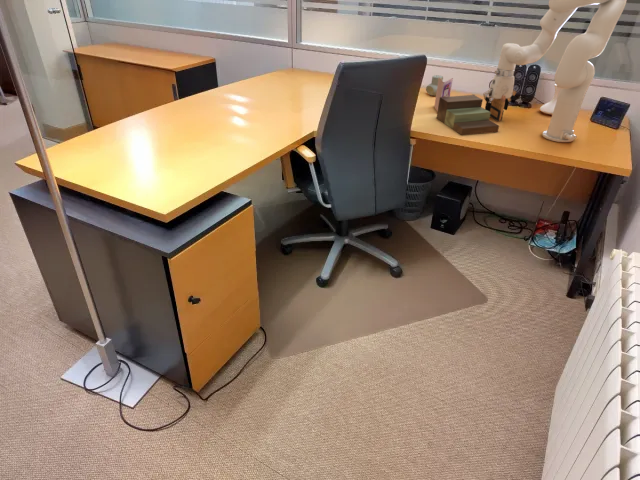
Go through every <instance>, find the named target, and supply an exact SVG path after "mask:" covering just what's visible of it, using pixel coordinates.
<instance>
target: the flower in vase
mask: <svg viewBox="0 0 640 480" xmlns="http://www.w3.org/2000/svg"><path fill="white" fill-rule="evenodd" d="M561 89H562V88H559V87H558V86H557V85H556V83H554V94H553V98H552V99H551V100H550V101H548V102H546V103H544V104H543V105H541V106H540V108H539V110H540V112H542V113H544V114H546V115H551V116H552V114H553V111H554V108H555V105H556V102H557V99H558V96H559V93H560V91H561Z"/></svg>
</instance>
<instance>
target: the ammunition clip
mask: <svg viewBox="0 0 640 480" xmlns="http://www.w3.org/2000/svg"><path fill="white" fill-rule="evenodd" d="M504 105H505V96H504V95H502V98H501V99H493V100H492V101H491V108H490V111H489V112H491V114H490V118H491V119H493V120H495V121H496V122H502V120H503V116H504V112H505V110H504Z"/></svg>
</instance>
